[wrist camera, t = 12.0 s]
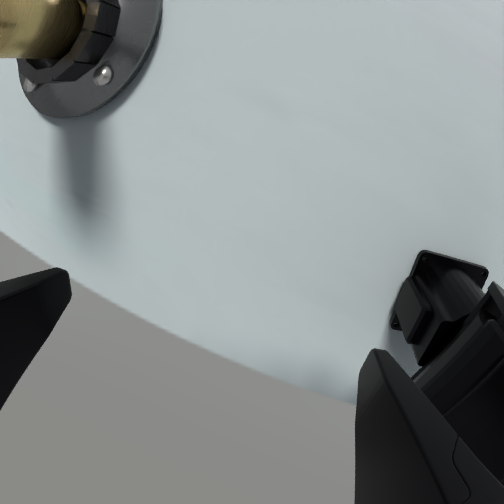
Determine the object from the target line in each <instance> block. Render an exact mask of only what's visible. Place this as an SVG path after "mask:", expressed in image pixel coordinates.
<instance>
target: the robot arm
mask: <svg viewBox="0 0 504 504" xmlns="http://www.w3.org/2000/svg"><path fill="white" fill-rule="evenodd" d="M424 256H427V258H426V259H425V260H422V258H423V257H424ZM482 272H484V273H483V274H482ZM481 274H482V275H481ZM488 274H489V271H488V270H487V269H486V267H484V266H481V265H478V264H474V263H471V262H467V261H464V260H460V259H457V258H453V257H450V256H446V255H443V254H439V253H435V252H432V251H428V250H422V251H421V252H419V254H418V256H417V258H416V261H415V264H414V266H413V269H412V271H411V274H410V276H409V277H407V278H406V280H405V282H404V285H403V287H402V290H401V292H400V294H399V297H398V299H397V301H396V303H395V306H394V308H395V311H394V313H393V315H392V318H391V320H390V325H391V328H392V329H394V330H400V331H403V334H404V337H405V340H406V342H407V344H411V345H412V348H413V351H414V354H415V357H416V360H417V363H418V365H419V366H423V367H422V368H421V369H419V370H418V371H417V372H416V373H415V374H414V375H413V376H412V377H411V378H410V377H409V376H408V374H407V373H406V372H405V371H404V370H403V369H402V368H401V366H400V365H399V364H398V363H397V362H396V361H395V359H394V358H393V357H392V356H391V355H390V354H389V353H388V352H387V351H386V350H382V349H376V348H374V349H372V350H371V351H370V352H369V354H368V356H367V358H366V360H365V362H364V364H363V366H362V368H361V370H360V373H359V379H358V394H357V407H356V419H355V504H504V289H502V288H501V287H500V286H499V285H498V284H496V283H495V282H494V281H493V282H492V283H491V284H490V286H489V287H488V291H487V293H486V294H485V293H484V292H483V291H482V288H483V286H484V284H485V281H486V279H487V277H488ZM71 296H72V292H71V285H70V279H69V274H68V272H67V271H66V270H64V269H61V268H57V267H56V268H52V269H48V270H44V271H40V272H36V273H32V274H29V275H25V276H21V277H17V278H14V279H10V280H6V281H2V282H0V410H1V408H2V407H3V405H4V403H5V402H6V400H7V398H8V397H9V395H10V394H11V392H12V390H13V389H14V387H15V386H16V384H17V382H18V381H19V379H20V378H21V376H22V375H23V373H24V372H25V370H26V369H27V367H28V366H29V364H30V363H31V361H32V360H33V358H34V357H35V355H36V354H37V352H38V351H39V350H40V348H41V347H42V345H43V344H44V342H45V341H46V339H47V338H48V337H49V335H50V333H51V332H52V330H53V328H54V326H55V325H56V323H57V321H58V320H59V318H60V316H61V315H62V313H63V311H64V310H65V308H66V307H67V305H68V303H69V302H70V300H71ZM395 322H398V323H397V324H394V323H395Z"/></svg>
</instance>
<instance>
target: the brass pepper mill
mask: <svg viewBox="0 0 504 504" xmlns="http://www.w3.org/2000/svg"><path fill="white" fill-rule="evenodd" d="M87 8H88V6H87V3H86V2H83V1H80V0H0V58H27V59H48V60H61V59H62V58H63V57H64V56H66V55H67V54H68V53H69V52H70V50H71V48H72V47H73V45H74V43H75V41H76V40H77V38H78V36H79V35H80V33H81V32H82V30H83V25H84V21H85V16H86V12H87Z"/></svg>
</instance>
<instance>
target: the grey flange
mask: <svg viewBox="0 0 504 504" xmlns="http://www.w3.org/2000/svg"><path fill="white" fill-rule="evenodd" d="M80 1H83V2H86V3H87V6H88V8H87V12H86V16H85V21H84V25H83V30H82V32H81V33H80V35H79V36H78V38H77V40H76V41H75V43H74V45H73V47H72V48H71V50H70V52H69V53H68V54H67V55H66V56H64V57H63V58H62V59H61V60H48V59H27V58H17V63H18V71H19V78H20V82H21V86H22V89H23V91H24V93H25V96H26V97H27V99H28V100H29V102H30V103H31V104H32V105H33V106H34V107H35V108H36V109H37V110H38V111H40V112H41V113H43V114H45V115H47V116H51V117H54V118H68V117H77V116H82V115H86V114H89V113H91V112H93V111H96V110H98V109H99V108H101V107H103V106H105V105H106V104H107V103H109V102H110V101H111V100H113V99H114V98H115V97H116V96H117V95H119V94H120V93H121V92H122V91H123V90H124V89H125V88H126V87H127V85H128V84H129V83H130V82H131V81H132V80H133V78H134V77H135V76H136V74H137V73H138V72H139V70H140V69H141V67H142V65H143V64H144V62H145V61H146V59H147V57H148V55H149V53H150V51H151V49H152V47H153V44H154V42H155V39H156V36H157V33H158V30H159V26H160V22H161V15H162V0H80Z"/></svg>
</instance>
